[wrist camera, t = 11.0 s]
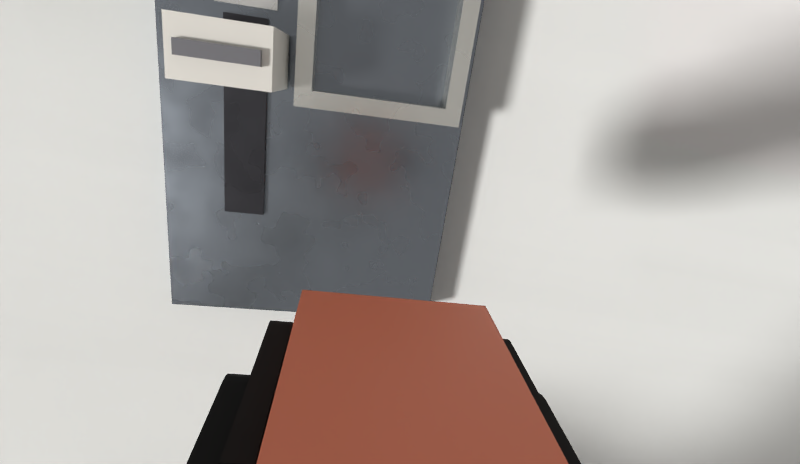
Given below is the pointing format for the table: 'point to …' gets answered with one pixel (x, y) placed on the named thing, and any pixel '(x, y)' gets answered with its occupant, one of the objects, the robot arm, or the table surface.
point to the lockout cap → (401, 388)
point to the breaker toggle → (224, 52)
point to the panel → (318, 154)
